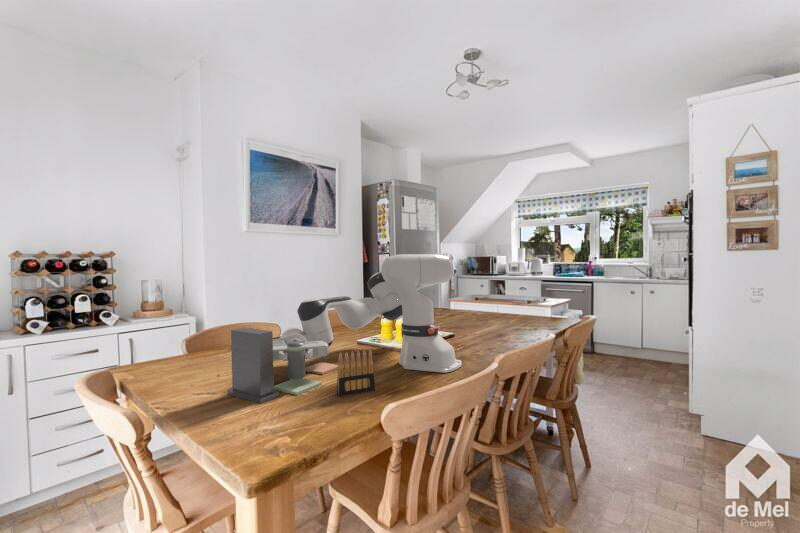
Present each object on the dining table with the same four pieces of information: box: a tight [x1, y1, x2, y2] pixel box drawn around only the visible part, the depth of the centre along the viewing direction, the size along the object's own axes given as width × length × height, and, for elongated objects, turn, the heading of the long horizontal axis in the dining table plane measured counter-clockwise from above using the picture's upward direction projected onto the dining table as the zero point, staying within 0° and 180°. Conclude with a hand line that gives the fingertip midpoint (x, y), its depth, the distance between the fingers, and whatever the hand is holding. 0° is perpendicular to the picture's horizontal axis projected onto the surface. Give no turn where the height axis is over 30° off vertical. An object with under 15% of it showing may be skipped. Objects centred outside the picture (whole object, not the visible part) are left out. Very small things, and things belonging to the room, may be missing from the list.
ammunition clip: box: [336, 348, 376, 397], centre depth 110 cm, size 11×2×12 cm, turn 115°
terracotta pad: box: [305, 361, 338, 376], centre depth 133 cm, size 9×9×1 cm
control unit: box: [227, 327, 280, 404], centre depth 108 cm, size 14×6×18 cm, turn 59°
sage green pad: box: [274, 377, 323, 396], centre depth 115 cm, size 10×10×1 cm
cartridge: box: [287, 341, 306, 380], centre depth 115 cm, size 5×5×10 cm
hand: (296, 357), depth 114 cm, fingers closed on cartridge, 5 cm apart
